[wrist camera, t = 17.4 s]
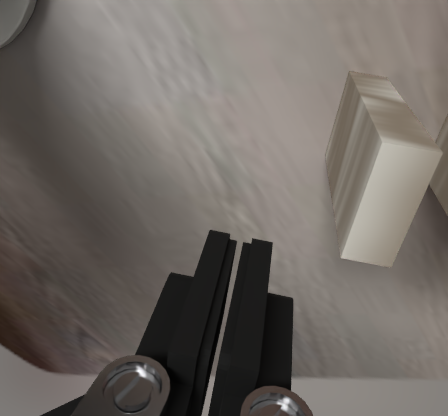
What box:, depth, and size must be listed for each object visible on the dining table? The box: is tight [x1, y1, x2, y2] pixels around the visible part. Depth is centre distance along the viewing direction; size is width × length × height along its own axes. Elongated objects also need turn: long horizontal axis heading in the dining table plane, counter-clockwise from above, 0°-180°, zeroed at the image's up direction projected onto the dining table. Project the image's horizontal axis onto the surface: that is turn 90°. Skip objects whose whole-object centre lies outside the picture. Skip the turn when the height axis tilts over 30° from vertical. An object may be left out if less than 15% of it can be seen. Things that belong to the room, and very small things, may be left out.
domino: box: [325, 71, 443, 268], centre depth 19 cm, size 2×5×10 cm, turn 173°
